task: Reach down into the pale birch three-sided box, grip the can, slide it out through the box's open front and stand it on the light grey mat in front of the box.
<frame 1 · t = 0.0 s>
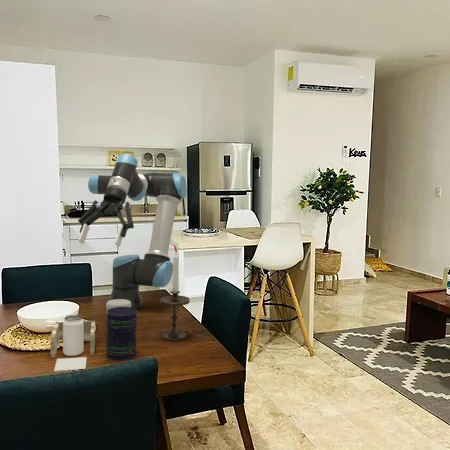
hand: (98, 243, 154), 36 cm above the table, tool tilted 35°, fingers open, 13 cm apart
storage jar: (121, 355, 151), on the table
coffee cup: (118, 333, 172), on the table
can: (73, 353, 151), on the table
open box: (74, 348, 155), on the table
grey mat: (71, 364, 142), on the table
candlestick: (173, 337, 170), on the table
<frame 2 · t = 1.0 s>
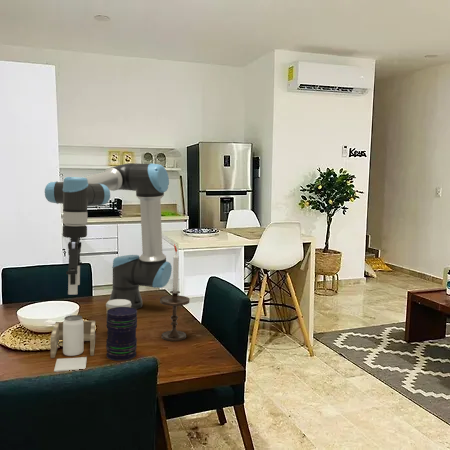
hand: (74, 289, 149), 21 cm above the table, tool pointing down, fingers open, 13 cm apart
nothing on the table moved.
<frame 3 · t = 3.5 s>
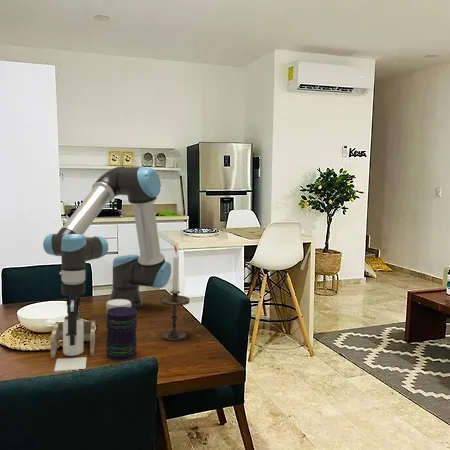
hand: (73, 349, 151), 1 cm above the table, tool pointing down, fingers closed on can, 6 cm apart
can: (73, 353, 151), on the table, touching gripper
everything else where it was.
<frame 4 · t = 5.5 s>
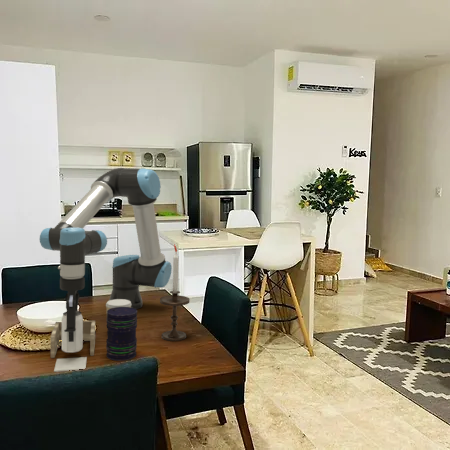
hand: (72, 346, 147), 4 cm above the table, tool pointing down, fingers closed on can, 6 cm apart
can: (72, 350, 147), point 2 cm above the table, touching gripper
everything else where it was.
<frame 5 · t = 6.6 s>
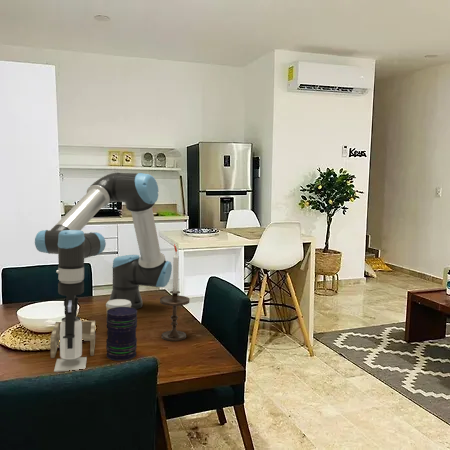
hand: (71, 353, 142), 3 cm above the table, tool pointing down, fingers closed on can, 6 cm apart
can: (71, 356, 142), point 2 cm above the table, touching gripper
everything else where it was.
when the fingers open (2 cm above the table, at t = 7.5 s): can stays where it is, resting on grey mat.
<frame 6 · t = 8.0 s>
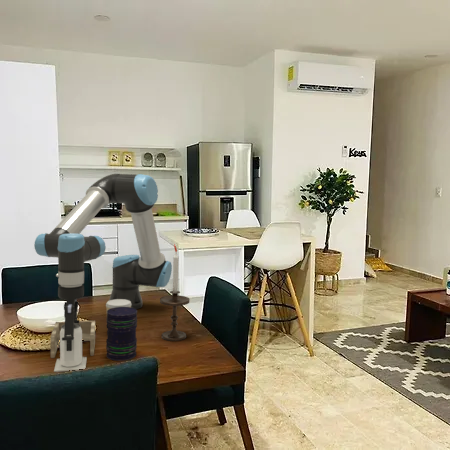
hand: (71, 352, 141), 4 cm above the table, tool pointing down, fingers open, 13 cm apart
can: (71, 364, 142), resting on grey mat
everything else where it was.
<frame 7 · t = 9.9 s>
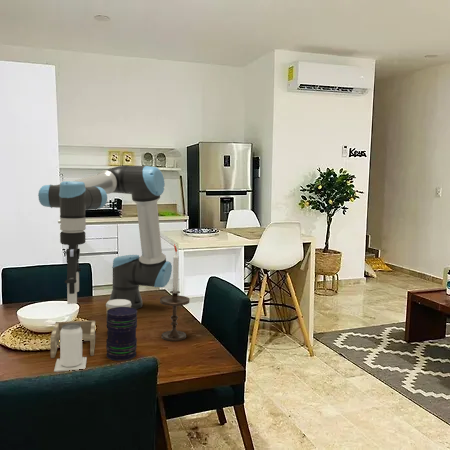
hand: (73, 297, 145), 20 cm above the table, tool pointing down, fingers open, 13 cm apart
nothing on the table moved.
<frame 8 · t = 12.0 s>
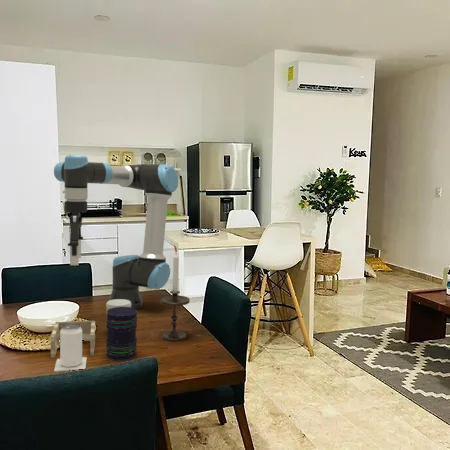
hand: (75, 261, 159), 29 cm above the table, tool pointing down, fingers open, 13 cm apart
nothing on the table moved.
at the end: can inside the target area (0.1 cm from its centre), resting on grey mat; can tilted 0°; the gripper is holding nothing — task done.
